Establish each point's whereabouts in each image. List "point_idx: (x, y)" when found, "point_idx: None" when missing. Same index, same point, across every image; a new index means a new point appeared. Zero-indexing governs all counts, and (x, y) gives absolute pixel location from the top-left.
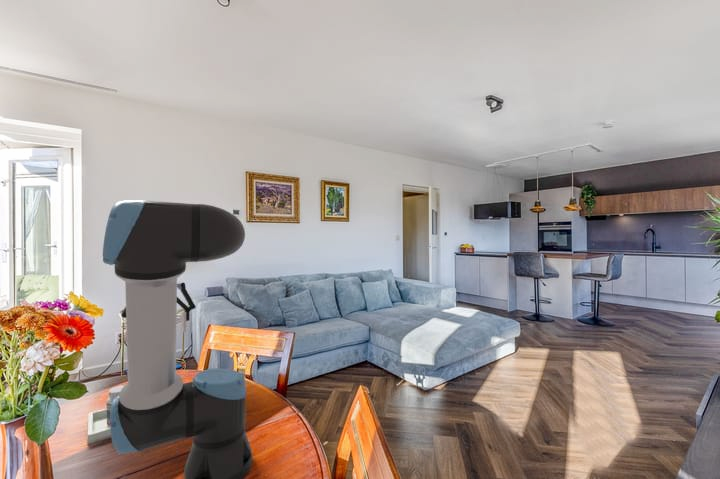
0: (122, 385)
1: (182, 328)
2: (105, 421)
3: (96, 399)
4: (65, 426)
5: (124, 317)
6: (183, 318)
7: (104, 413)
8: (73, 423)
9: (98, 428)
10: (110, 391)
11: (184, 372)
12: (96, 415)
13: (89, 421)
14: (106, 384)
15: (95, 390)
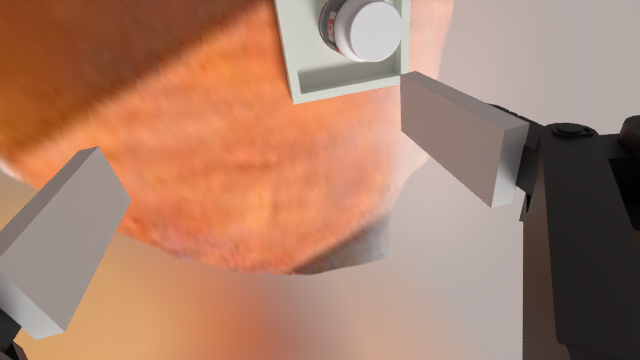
0: (366, 58)
1: (109, 185)
2: None
3: (386, 179)
4: (437, 74)
5: (635, 116)
6: (46, 219)
7: (375, 77)
8: None
9: None
10: (398, 22)
11: (210, 254)
12: (390, 74)
13: (407, 28)
14: (371, 241)
15: (389, 221)
